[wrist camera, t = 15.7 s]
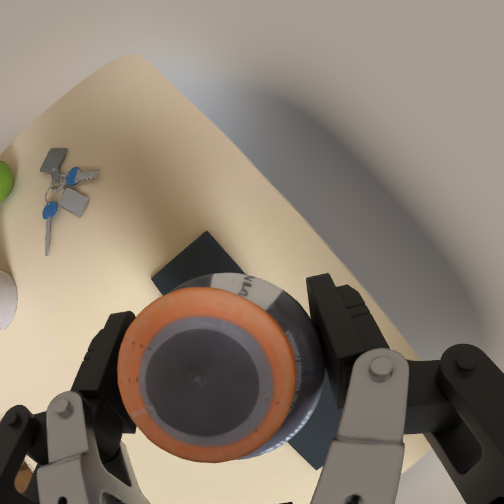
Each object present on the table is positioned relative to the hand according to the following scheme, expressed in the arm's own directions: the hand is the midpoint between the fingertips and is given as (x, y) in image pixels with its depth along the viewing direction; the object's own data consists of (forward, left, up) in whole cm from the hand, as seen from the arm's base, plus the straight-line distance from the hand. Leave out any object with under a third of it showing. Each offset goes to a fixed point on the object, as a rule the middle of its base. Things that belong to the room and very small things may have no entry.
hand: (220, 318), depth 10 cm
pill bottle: (-1, +1, -7) cm, 8 cm away
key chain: (+24, +6, -13) cm, 28 cm away
